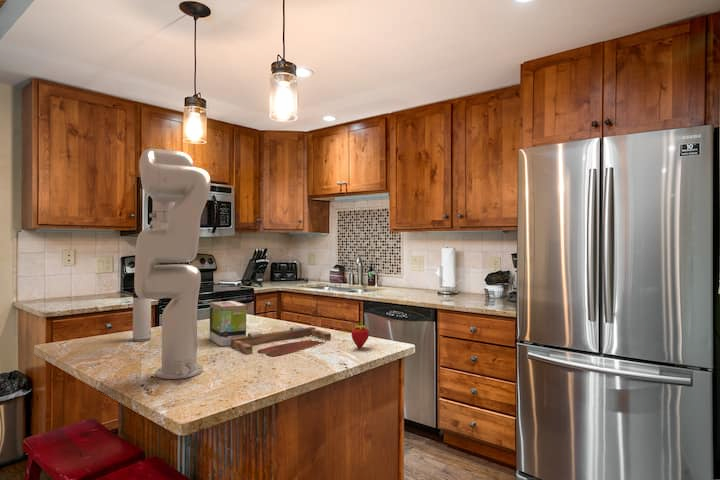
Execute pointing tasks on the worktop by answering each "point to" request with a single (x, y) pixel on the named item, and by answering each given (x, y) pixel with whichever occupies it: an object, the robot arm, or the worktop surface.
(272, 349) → the wooden tablet
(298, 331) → the hinge frame
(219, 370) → the worktop surface
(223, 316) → the tea box
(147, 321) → the travel mug
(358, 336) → the strawberry
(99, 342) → the worktop surface
